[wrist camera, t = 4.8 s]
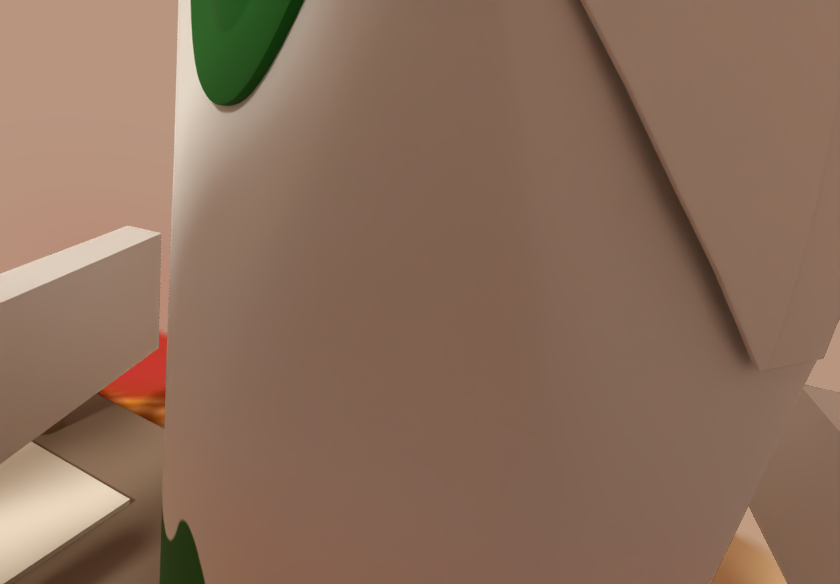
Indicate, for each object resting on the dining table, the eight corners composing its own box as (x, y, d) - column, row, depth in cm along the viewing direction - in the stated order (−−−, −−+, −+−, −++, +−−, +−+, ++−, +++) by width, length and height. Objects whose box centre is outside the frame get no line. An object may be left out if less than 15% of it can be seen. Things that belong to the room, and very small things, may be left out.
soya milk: (127, 707, 15) (133, -272, 8) (424, 596, 20) (594, -82, 13) (209, 1268, 9) (640, -1356, 2) (624, 903, 14) (1201, -141, 6)
